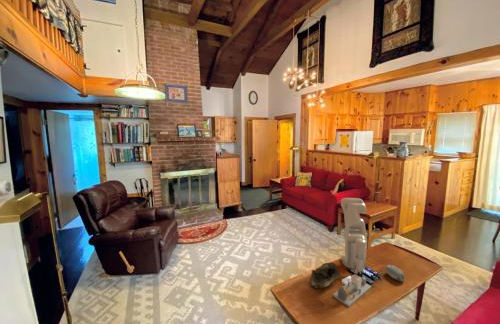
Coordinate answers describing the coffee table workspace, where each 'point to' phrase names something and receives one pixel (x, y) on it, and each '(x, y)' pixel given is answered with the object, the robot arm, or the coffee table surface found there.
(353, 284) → the pale green crossbeam
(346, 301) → the grey support base
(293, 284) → the coffee table surface
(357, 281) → the sleeve
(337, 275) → the hollow geode rock
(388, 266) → the streaked grey egg
